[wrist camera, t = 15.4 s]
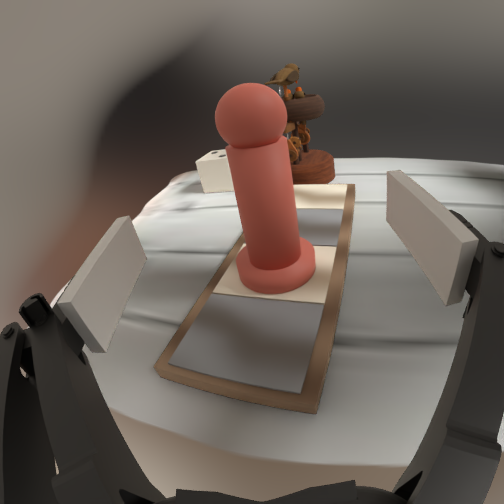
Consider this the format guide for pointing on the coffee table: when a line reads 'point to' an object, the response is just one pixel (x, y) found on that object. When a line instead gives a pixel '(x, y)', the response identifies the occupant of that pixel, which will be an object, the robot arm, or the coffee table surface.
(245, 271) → the pawn
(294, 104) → the music box
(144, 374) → the coffee table surface
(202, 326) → the board
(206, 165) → the die
